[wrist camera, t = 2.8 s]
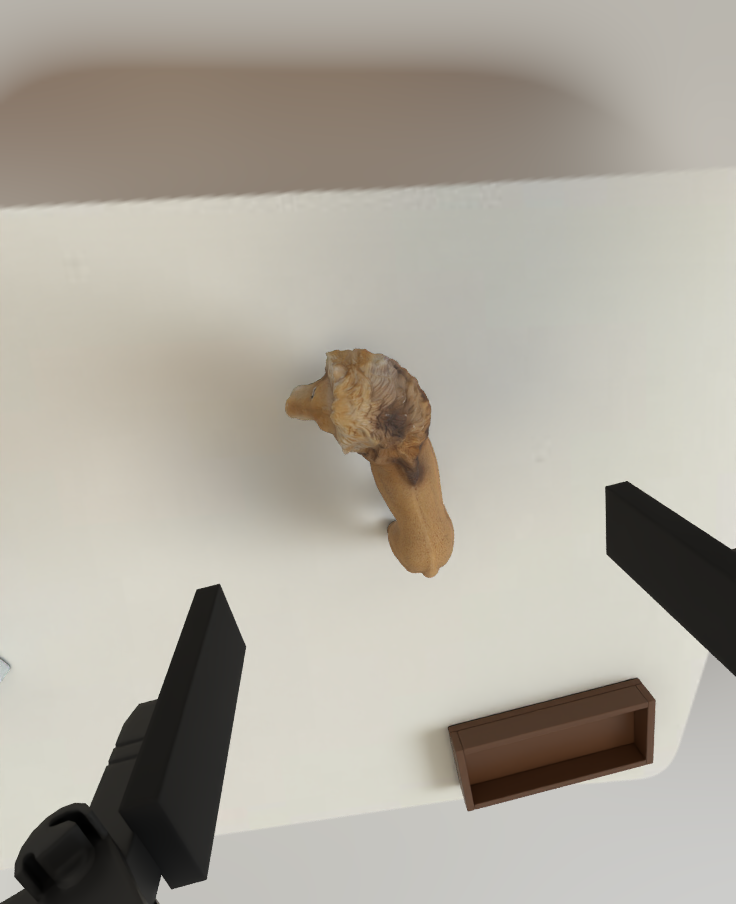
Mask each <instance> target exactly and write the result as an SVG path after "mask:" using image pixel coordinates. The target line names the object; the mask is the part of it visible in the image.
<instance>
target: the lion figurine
mask: <svg viewBox="0 0 736 904" xmlns="http://www.w3.org/2000/svg"><path fill="white" fill-rule="evenodd" d="M326 355H327V359H326V367H325V372H326V373H325V375H324V376H323V377H322V378H321V379H320V380H318V381H316V382H314V383H312V384H309V385H300V386H297V387H295V388H294V390H293V391H292V393H291V395H290V397H289V398H288V399H287V401H286V405H285V411H286V413H287V415H288V416H290V417H291V418H297V419H299V420H315V421H316V423H317V424H318V426H319V427H320V429H322V430H323V431H326V432H329V433H331V434H333V435H334V437H335V438H336V440H337V441H338V443H339V445H341V447H342V451H343V452H344V454H345V455H346V454H348V453H349V452H357V453H358V454H361V455H362V456H363V457H364V458H365V459H367V460H368V461H369V462H370V464H371V470H372V473H373V476H374V479H375V482H376V485H377V487H378V489H379V491H380V493H381V495H382V497H383V498H384V500H385V502H386V504H387V506H388V507H389V509H390V511H391V512H392V514H393V515H394V517H395V518H396V520H397V521H393V522H392V523H391V524H389V526H388V529H387V532H388V540H389V544H390V547H391V549H392V552H393V553H394V555H395V556H396V558H397V559H398V560H399V562H400V563H401V564H402V565H403V566H404V567H405V569H406V570H407V571H409V572H411V573H423V575H424V576H425V577H427V578H431V577H434V576H435V575H436V574H437V573H438V570H439V568H440V567H442V566H444V565H445V564H446V563H447V561H448V560H449V558H450V556H451V554H452V551H453V544H454V529H453V525H452V522H451V519H450V517H449V515H448V513H447V511H446V508H445V506H444V504H443V500H442V492H441V485H440V478H439V477H440V476H439V470H438V464H437V460H436V457H435V453H434V450H433V447H432V444H431V442H430V440H429V438H428V434H429V426H430V419H431V406H430V404H429V400H428V398H427V396H426V394H425V393H424V391H423V390H422V389H421V388H420V386H419V384H418V381H417V379H416V378H415V377H413V376H411V375H410V374H409V373H408V371H407V370H406V369H405V368H402V367H401V366H400V365H399V364H398V362H396V361H395V360H393V359H389V357H387V356H384V355H383V354H372V353H371V352H368V351H367V350H366V349H356V348H355V349H354V350H353V351H351V350H344V351H340V350H335V351H332V352H327V353H326Z"/></svg>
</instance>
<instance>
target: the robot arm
mask: <svg viewBox="0 0 736 904" xmlns="http://www.w3.org/2000/svg"><path fill="white" fill-rule="evenodd" d="M605 494H606V554H607V555H608V556H609V557H610V558H611V559H612V560H613V561H614V562H615V563H616V564H617V565H618V566H620V567H621V568H622V569H623V570H624V571H625V572H626V573H627V574H628V575H629V576H630V577H631V578H632V579H633V580H634V581H635V582H636V583H637V584H639V585H640V586H641V587H642V588H643V589H644V590H645V591H646V592H647V593H648V594H649V595H650V596H651V597H652V598H653V599H654V600H655V601H656V602H658V603H659V604H660V605H661V606H662V607H663V608H664V609H665V610H666V611H667V612H668V613H669V614H670V615H671V616H672V617H673V618H674V619H675V620H677V621H678V622H679V623H680V624H681V625H682V626H683V627H684V628H685V629H686V630H687V631H688V632H689V633H690V634H691V635H692V636H693V637H694V638H696V639H697V640H698V641H699V642H700V643H701V644H702V645H703V646H704V647H705V648H706V649H707V650H708V651H709V652H710V653H711V654H712V655H713V656H715V657H716V658H717V659H718V660H719V661H720V662H721V663H722V664H723V665H724V666H725V667H726V668H727V669H728V670H729V671H730V672H731V673H733V674H734V675H735V676H736V548H735V549H730V548H729V547H727V546H726V545H724V544H722V543H721V542H719V541H718V540H716V539H715V538H713V537H712V536H710V535H709V534H707V533H706V532H704V531H703V530H701V529H700V528H698V527H697V526H695V525H693V524H692V523H690V522H689V521H687V520H686V519H684V518H683V517H681V516H680V515H678V514H677V513H675V512H674V511H672V510H671V509H669V508H668V507H666V506H664V505H663V504H661V503H660V502H658V501H657V500H655V499H654V498H652V497H651V496H649V495H648V494H646V493H645V492H643V491H642V490H640V489H639V488H637V487H635V486H634V485H632V484H631V483H629V482H628V481H626V482H622V483H618V484H614V485H610V486H606V487H605ZM245 650H246V645H245V643H244V641H243V638H242V636H241V633H240V631H239V629H238V626H237V624H236V621H235V619H234V617H233V614H232V612H231V609H230V607H229V605H228V602H227V600H226V597H225V595H224V593H223V590H222V588H221V585H220V584H217V585H213V586H209V587H205V588H201V589H197V590H196V593H195V596H194V598H193V601H192V604H191V607H190V610H189V612H188V615H187V618H186V621H185V624H184V627H183V629H182V632H181V635H180V638H179V641H178V643H177V646H176V649H175V652H174V655H173V657H172V660H171V663H170V666H169V669H168V672H167V674H166V677H165V680H164V683H163V686H162V688H161V691H160V694H159V697H158V699H156V700H153V701H149V702H145V703H141V704H139V705H138V706H137V707H136V709H135V710H134V711H133V712H132V714H131V715H130V716H129V718H128V719H127V720H126V722H125V723H124V725H123V727H122V730H121V732H120V734H119V737H118V739H117V742H116V744H115V745H116V748H114V749H113V751H112V754H111V756H110V759H109V761H108V762H109V765H108V766H106V768H105V771H104V773H103V776H102V778H101V781H100V783H99V786H98V788H97V790H96V793H95V795H94V798H93V800H92V803H91V805H90V807H89V806H88V805H87V804H86V803H73V804H70V805H68V806H65V807H62V808H60V809H59V810H57V811H56V812H54V813H53V814H51V815H50V816H49V817H47V818H46V819H45V820H44V821H43V822H42V823H41V824H40V825H39V826H38V827H37V828H36V829H35V830H34V831H33V832H32V833H31V835H30V836H29V838H28V839H27V840H26V842H25V843H24V845H23V846H22V848H21V850H20V852H19V855H18V857H17V860H16V862H15V873H14V874H15V875H14V877H15V878H16V879H17V880H18V881H19V883H20V884H21V885H22V886H23V887H24V888H25V889H23V890H22V891H20V892H18V893H17V894H15V895H13V896H12V897H10V898H8V899H7V900H5V901H3V902H1V903H0V904H159V902H158V901H157V899H156V894H157V890H158V886H159V882H160V878H161V875H162V876H163V878H164V879H165V881H166V882H167V883H168V885H169V887H170V888H171V889H174V888H178V887H182V886H185V885H189V884H193V883H196V882H200V881H204V880H206V879H207V874H208V868H209V862H210V856H211V850H212V845H213V839H214V833H215V827H216V821H217V815H218V809H219V803H220V798H221V792H222V786H223V780H224V774H225V768H226V762H227V756H228V750H229V744H230V738H231V733H232V727H233V721H234V715H235V709H236V703H237V697H238V691H239V685H240V679H241V674H242V668H243V662H244V656H245Z"/></svg>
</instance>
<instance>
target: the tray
mask: <svg viewBox="0 0 736 904" xmlns="http://www.w3.org/2000/svg"><path fill="white" fill-rule="evenodd" d="M655 702H656V700H655V699H654V697H653V696H652V695H651V694H650V692H649V691H648V690H647V689H646V687H645V686H644V685H643V684H642V682H641V681H640V680H639V679H638V678H637V679H633V680H629V681H625V682H621V683H617V684H613V685H609V686H605V687H602V688H598V689H594V690H590V691H586V692H582V693H578V694H574V695H570V696H567V697H563V698H559V699H555V700H551V701H547V702H543V703H539V704H535V705H532V706H528V707H524V708H520V709H516V710H512V711H508V712H504V713H500V714H497V715H493V716H489V717H485V718H481V719H477V720H473V721H469V722H466V723H462V724H458V725H454V726H450V727H448V730H449V735H450V740H451V744H452V749H453V754H454V759H455V763H456V768H457V773H458V777H459V782H460V787H461V790H462V794H463V797H464V801H465V804H466V808H467V810H468V811H472V810H474V809H479V808H483V807H487V806H491V805H495V804H498V803H502V802H506V801H510V800H513V799H518V798H521V797H525V796H529V795H533V794H536V793H540V792H544V791H548V790H552V789H556V788H560V787H563V786H567V785H571V784H575V783H579V782H582V781H586V780H590V779H594V778H598V777H602V776H605V775H609V774H613V773H617V772H621V771H624V770H628V769H632V768H636V767H640V766H644V765H647V764H651V763H653V751H654V727H655Z"/></svg>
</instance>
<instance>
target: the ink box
mask: <svg viewBox="0 0 736 904" xmlns="http://www.w3.org/2000/svg"><path fill="white" fill-rule="evenodd" d="M9 670H10V667H9V665H8V664H6V663H5V662H4V661H2V660H1V659H0V682H1V681H2V679H3V678H4V677H5V675H6V674H7V673H8V671H9Z"/></svg>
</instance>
